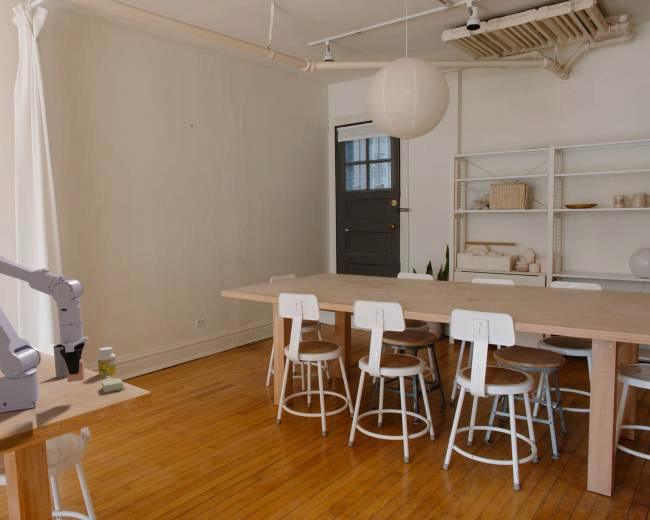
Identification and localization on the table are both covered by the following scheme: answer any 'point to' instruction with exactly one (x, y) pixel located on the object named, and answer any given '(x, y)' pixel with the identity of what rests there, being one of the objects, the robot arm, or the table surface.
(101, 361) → the supplement bottle
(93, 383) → the table surface
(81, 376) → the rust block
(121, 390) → the base block
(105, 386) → the top block
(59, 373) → the grey cylinder
